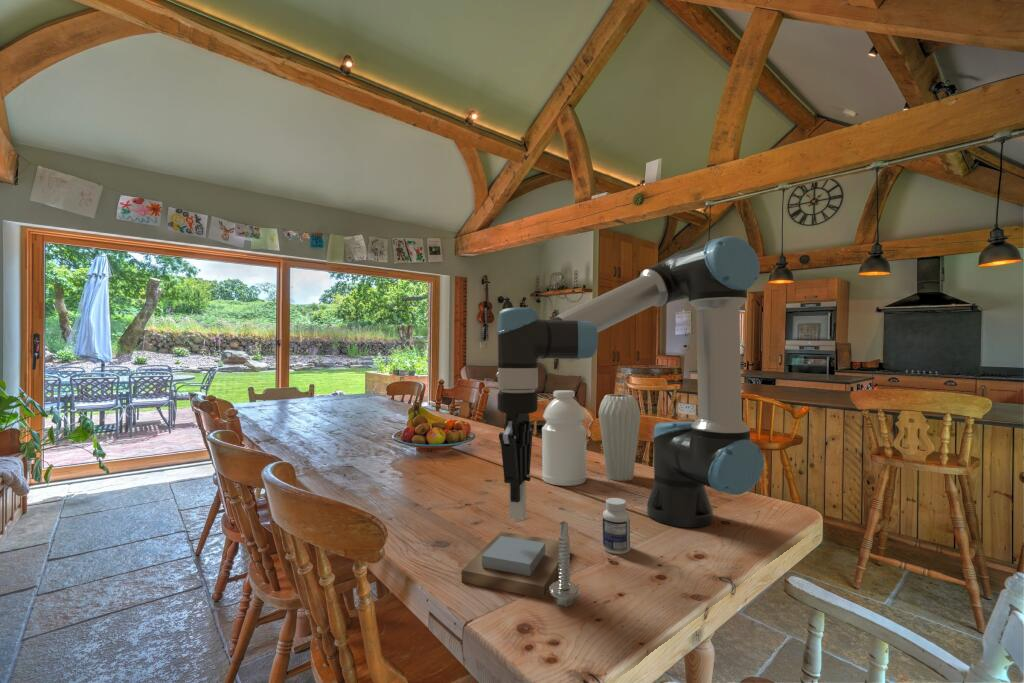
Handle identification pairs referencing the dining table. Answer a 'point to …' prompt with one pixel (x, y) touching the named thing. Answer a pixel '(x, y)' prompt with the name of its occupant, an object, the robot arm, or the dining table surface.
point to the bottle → (564, 441)
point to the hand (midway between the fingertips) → (517, 517)
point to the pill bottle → (616, 527)
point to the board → (515, 582)
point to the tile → (514, 555)
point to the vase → (619, 434)
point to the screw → (564, 572)
